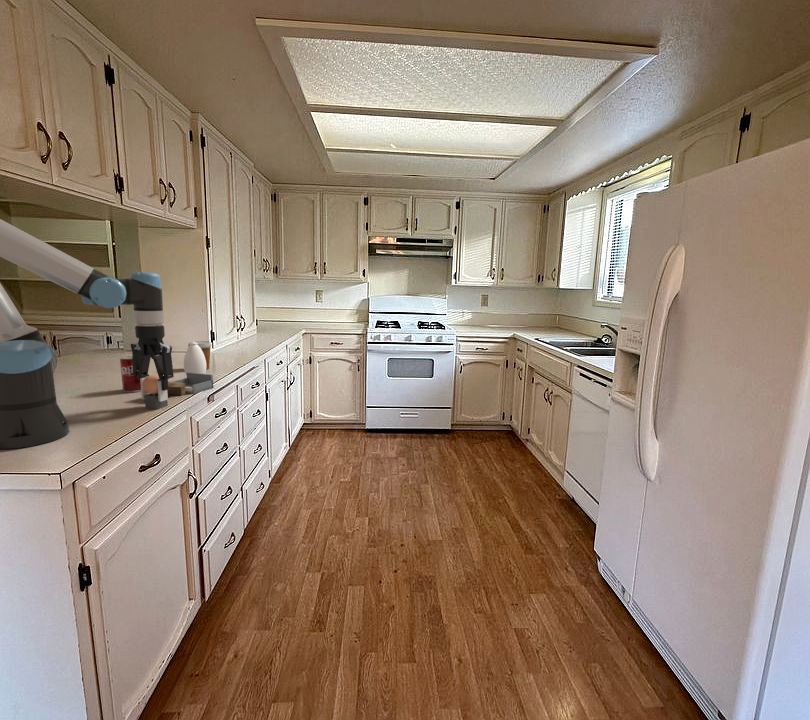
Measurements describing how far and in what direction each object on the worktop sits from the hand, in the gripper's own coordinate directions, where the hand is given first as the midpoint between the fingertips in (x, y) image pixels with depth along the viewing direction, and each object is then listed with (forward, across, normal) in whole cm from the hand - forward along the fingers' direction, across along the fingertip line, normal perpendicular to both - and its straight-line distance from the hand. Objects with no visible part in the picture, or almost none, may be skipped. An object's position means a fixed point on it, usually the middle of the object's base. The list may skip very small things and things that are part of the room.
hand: (154, 399), depth 130 cm
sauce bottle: (+2, +15, -32) cm, 36 cm away
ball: (-5, 0, 0) cm, 5 cm away
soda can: (+3, +24, -13) cm, 27 cm away
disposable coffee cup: (+2, +31, -52) cm, 61 cm away
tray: (+2, +7, -22) cm, 23 cm away
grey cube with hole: (+2, 0, 0) cm, 3 cm away
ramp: (+2, +7, -10) cm, 13 cm away
